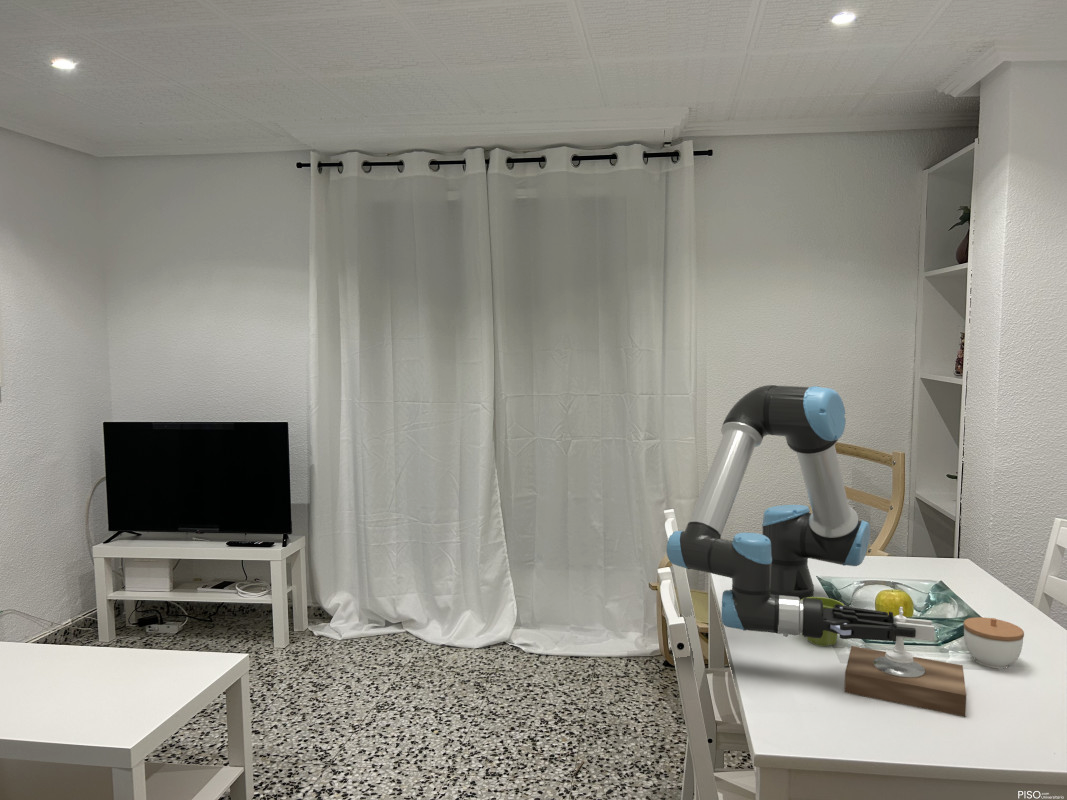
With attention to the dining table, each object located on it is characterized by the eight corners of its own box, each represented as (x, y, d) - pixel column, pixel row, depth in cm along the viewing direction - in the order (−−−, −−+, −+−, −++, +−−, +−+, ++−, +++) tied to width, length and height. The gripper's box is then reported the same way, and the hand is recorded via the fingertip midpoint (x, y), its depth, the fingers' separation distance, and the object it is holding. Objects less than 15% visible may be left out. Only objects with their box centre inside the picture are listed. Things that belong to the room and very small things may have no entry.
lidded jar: (950, 656, 159) (952, 613, 158) (986, 648, 162) (988, 607, 162) (997, 677, 149) (999, 631, 148) (1034, 668, 152) (1037, 624, 152)
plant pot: (795, 644, 164) (796, 606, 164) (802, 630, 173) (803, 593, 172) (841, 653, 160) (842, 613, 159) (845, 637, 168) (846, 600, 168)
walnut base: (850, 664, 154) (851, 644, 154) (961, 685, 145) (962, 663, 145) (844, 692, 142) (845, 670, 142) (965, 716, 133) (966, 693, 132)
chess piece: (910, 654, 145) (912, 604, 144) (916, 664, 140) (918, 613, 140) (882, 651, 147) (884, 601, 146) (887, 661, 142) (889, 610, 141)
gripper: (799, 621, 156) (924, 635, 149) (802, 649, 142) (940, 666, 134) (800, 586, 155) (925, 598, 148) (803, 611, 141) (942, 625, 134)
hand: (932, 630), depth 141 cm, fingers closed on chess piece, 2 cm apart
